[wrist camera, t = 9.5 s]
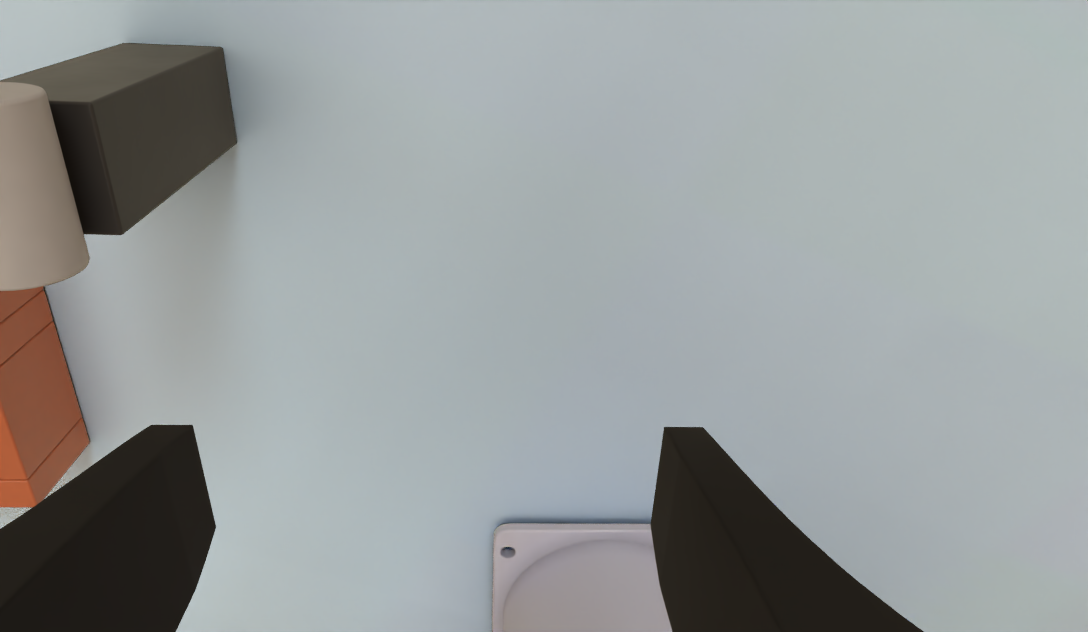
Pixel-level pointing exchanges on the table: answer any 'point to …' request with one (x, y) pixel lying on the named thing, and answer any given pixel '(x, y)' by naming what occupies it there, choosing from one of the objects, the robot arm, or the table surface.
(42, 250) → the block with cylinder
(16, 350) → the holder
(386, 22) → the table surface
